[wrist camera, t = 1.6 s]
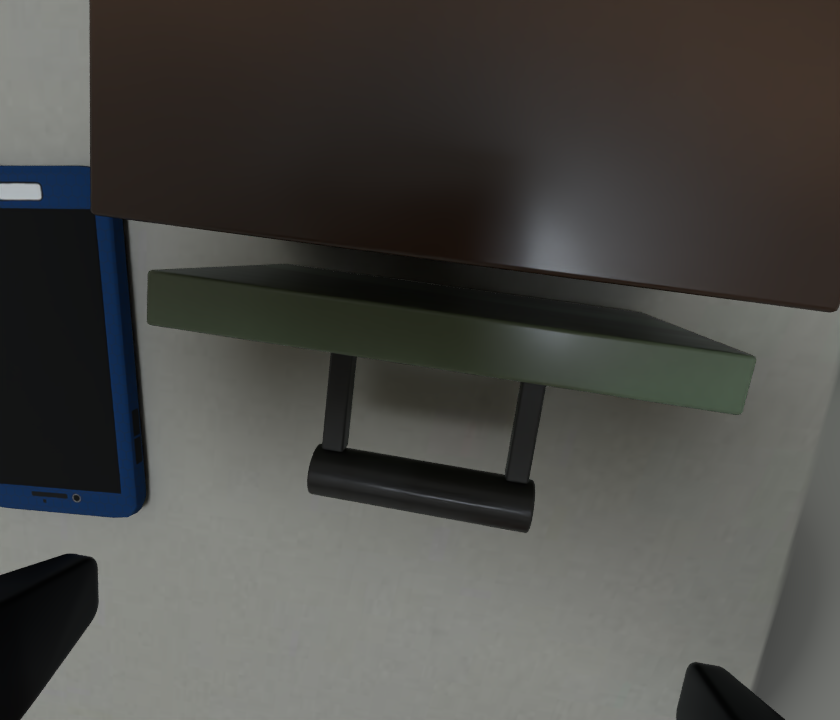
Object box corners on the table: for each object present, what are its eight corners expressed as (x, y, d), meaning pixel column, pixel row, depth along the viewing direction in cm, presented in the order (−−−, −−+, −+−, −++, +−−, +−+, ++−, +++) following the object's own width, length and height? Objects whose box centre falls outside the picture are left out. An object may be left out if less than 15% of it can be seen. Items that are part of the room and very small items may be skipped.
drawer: (608, 476, 19) (686, 627, 11) (273, 420, 20) (141, 521, 12) (755, -204, 15) (1043, -701, 7) (319, -221, 16) (161, -658, 8)
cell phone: (119, 167, 20) (105, 164, 19) (149, 513, 22) (138, 522, 22) (-54, 167, 21) (-74, 164, 20) (-5, 499, 23) (-21, 507, 23)
